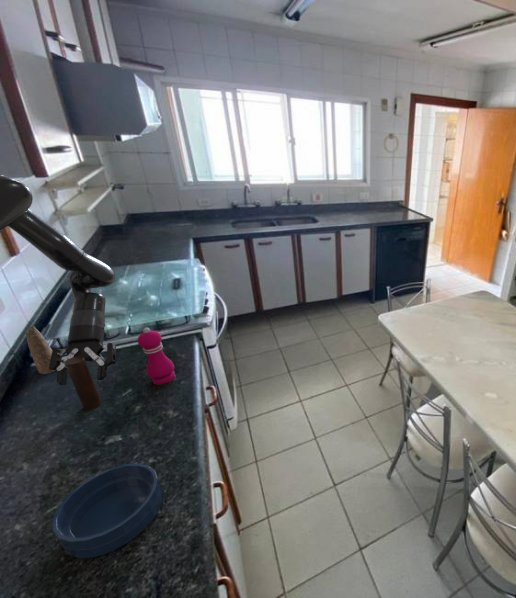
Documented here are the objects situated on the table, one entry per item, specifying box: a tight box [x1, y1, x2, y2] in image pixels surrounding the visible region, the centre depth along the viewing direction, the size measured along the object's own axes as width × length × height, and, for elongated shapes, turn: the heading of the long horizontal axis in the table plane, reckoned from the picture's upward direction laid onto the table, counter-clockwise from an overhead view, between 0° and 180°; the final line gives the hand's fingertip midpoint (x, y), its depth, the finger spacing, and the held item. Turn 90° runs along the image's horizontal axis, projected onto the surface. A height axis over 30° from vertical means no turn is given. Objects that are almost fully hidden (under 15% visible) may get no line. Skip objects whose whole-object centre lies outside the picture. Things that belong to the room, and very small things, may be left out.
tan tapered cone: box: [25, 325, 63, 375], centre depth 104 cm, size 6×18×6 cm
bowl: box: [52, 462, 164, 559], centre depth 68 cm, size 16×16×6 cm
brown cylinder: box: [64, 356, 103, 411], centre depth 93 cm, size 4×4×16 cm
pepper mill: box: [137, 327, 177, 386], centre depth 104 cm, size 7×7×20 cm
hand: (81, 382), depth 93 cm, fingers open, 8 cm apart
